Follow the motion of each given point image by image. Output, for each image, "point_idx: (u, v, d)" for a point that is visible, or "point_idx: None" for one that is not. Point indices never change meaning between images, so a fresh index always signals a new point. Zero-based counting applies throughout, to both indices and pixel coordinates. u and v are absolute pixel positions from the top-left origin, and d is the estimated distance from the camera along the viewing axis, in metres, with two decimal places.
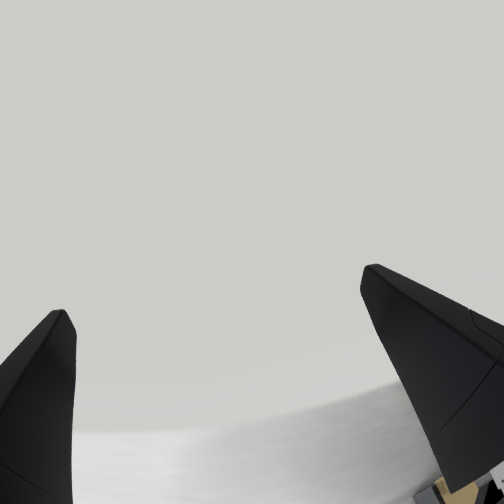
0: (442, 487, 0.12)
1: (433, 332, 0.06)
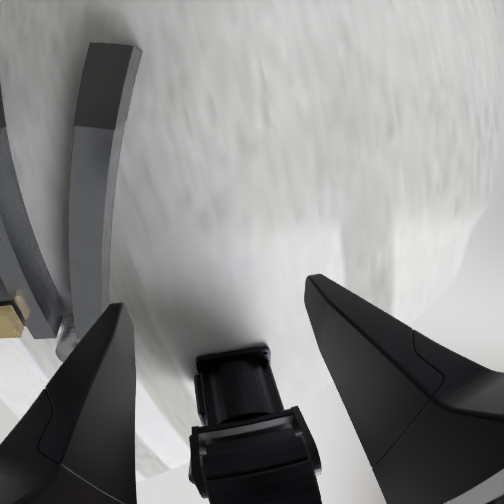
0: None
1: (366, 354, 0.06)
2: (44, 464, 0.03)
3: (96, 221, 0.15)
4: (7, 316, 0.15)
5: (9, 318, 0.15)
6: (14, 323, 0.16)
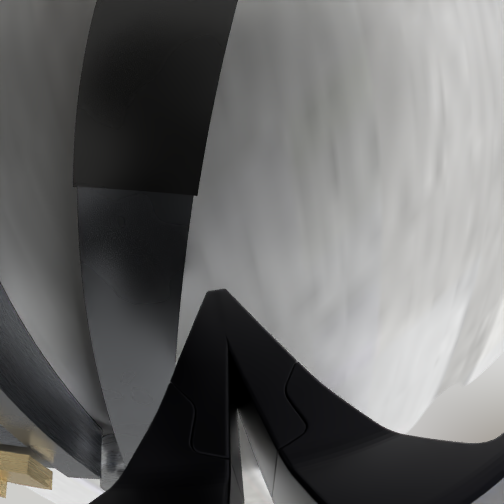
0: None
1: (240, 384, 0.06)
2: (211, 465, 0.04)
3: (159, 376, 0.07)
4: (28, 474, 0.08)
5: (31, 475, 0.08)
6: (39, 477, 0.08)
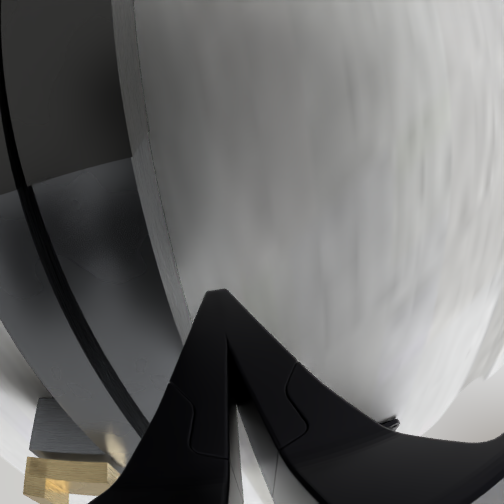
0: None
1: (241, 384, 0.06)
2: (210, 465, 0.04)
3: (171, 357, 0.07)
4: (108, 483, 0.09)
5: (110, 484, 0.09)
6: None
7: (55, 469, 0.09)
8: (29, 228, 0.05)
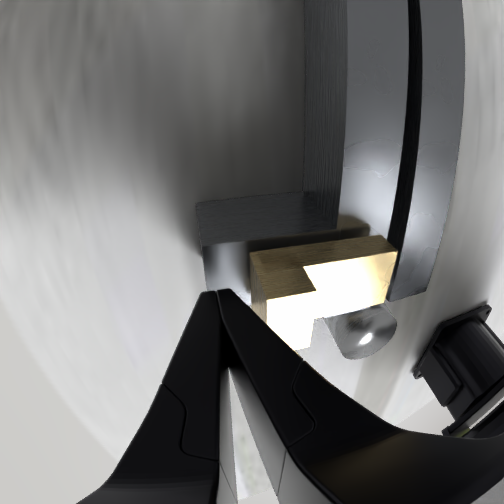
0: None
1: (247, 383, 0.06)
2: (200, 465, 0.04)
3: (457, 64, 0.07)
4: (394, 254, 0.09)
5: (392, 259, 0.09)
6: (387, 272, 0.09)
7: (313, 253, 0.09)
8: None
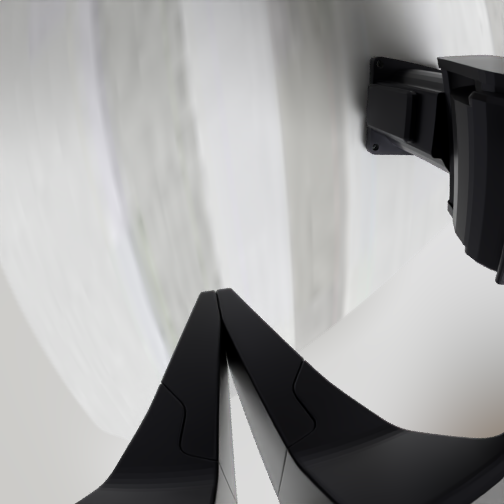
0: None
1: (247, 383, 0.06)
2: (199, 466, 0.04)
3: None
4: None
5: None
6: None
7: None
8: None
